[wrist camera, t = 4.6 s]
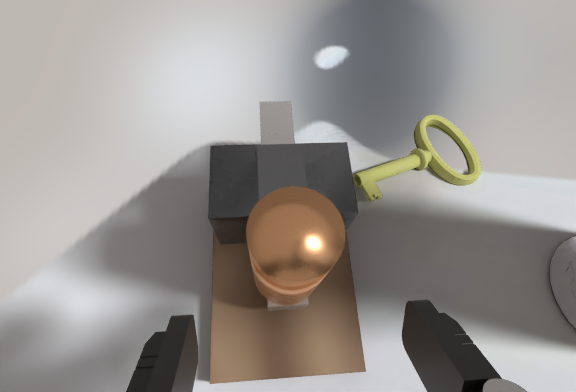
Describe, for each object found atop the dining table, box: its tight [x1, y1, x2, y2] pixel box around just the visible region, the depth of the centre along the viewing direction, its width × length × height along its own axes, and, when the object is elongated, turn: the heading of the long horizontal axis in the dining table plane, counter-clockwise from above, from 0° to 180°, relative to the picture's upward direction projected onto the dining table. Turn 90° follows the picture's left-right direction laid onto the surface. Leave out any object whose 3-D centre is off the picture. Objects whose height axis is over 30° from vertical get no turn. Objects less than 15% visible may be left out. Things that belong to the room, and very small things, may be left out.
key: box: [353, 115, 482, 202], centre depth 29 cm, size 7×12×2 cm, turn 132°
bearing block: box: [208, 142, 358, 244], centre depth 24 cm, size 9×5×6 cm, turn 94°
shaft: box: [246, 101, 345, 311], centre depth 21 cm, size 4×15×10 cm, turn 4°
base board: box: [210, 231, 366, 384], centre depth 25 cm, size 10×14×1 cm
